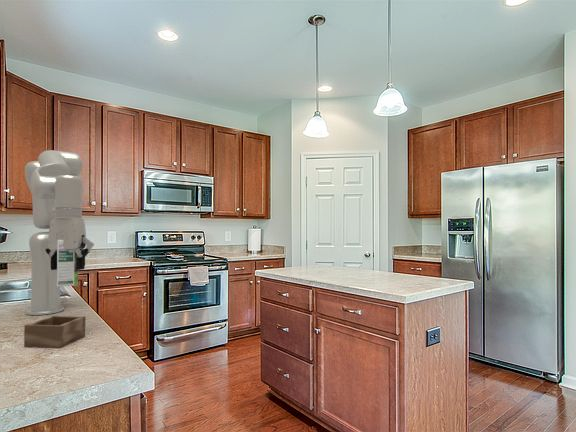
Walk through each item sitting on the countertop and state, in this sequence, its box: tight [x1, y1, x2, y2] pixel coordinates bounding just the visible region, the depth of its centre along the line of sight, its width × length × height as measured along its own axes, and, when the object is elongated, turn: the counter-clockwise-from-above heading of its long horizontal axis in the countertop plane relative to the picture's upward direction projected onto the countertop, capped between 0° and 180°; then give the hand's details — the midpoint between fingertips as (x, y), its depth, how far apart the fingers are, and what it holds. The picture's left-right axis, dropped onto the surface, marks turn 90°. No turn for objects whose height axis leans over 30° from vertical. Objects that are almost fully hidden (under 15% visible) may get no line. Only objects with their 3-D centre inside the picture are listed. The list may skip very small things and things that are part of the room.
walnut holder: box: [23, 315, 86, 349], centre depth 109 cm, size 11×11×6 cm
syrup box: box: [57, 240, 79, 288], centre depth 117 cm, size 6×6×14 cm
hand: (67, 269), depth 117 cm, fingers closed on syrup box, 7 cm apart
